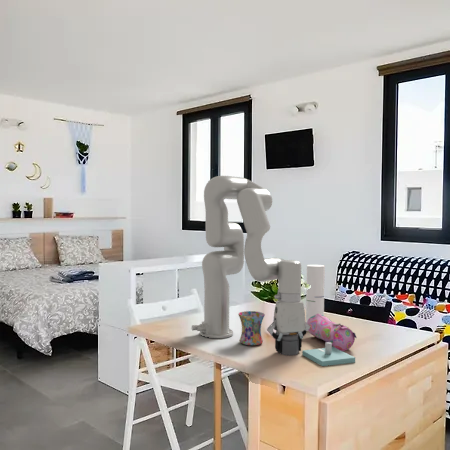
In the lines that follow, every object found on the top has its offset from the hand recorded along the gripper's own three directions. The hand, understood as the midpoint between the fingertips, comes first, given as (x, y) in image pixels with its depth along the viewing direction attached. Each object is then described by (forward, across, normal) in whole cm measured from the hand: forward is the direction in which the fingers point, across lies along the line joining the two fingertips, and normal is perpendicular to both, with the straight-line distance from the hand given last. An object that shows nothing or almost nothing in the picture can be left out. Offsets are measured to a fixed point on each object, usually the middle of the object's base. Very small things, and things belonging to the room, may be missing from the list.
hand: (288, 350), depth 160 cm
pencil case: (+1, +20, +5) cm, 20 cm away
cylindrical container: (+1, +28, +29) cm, 40 cm away
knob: (+1, 0, 0) cm, 1 cm away
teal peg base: (+1, +9, -10) cm, 13 cm away
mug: (+1, -7, +15) cm, 17 cm away
